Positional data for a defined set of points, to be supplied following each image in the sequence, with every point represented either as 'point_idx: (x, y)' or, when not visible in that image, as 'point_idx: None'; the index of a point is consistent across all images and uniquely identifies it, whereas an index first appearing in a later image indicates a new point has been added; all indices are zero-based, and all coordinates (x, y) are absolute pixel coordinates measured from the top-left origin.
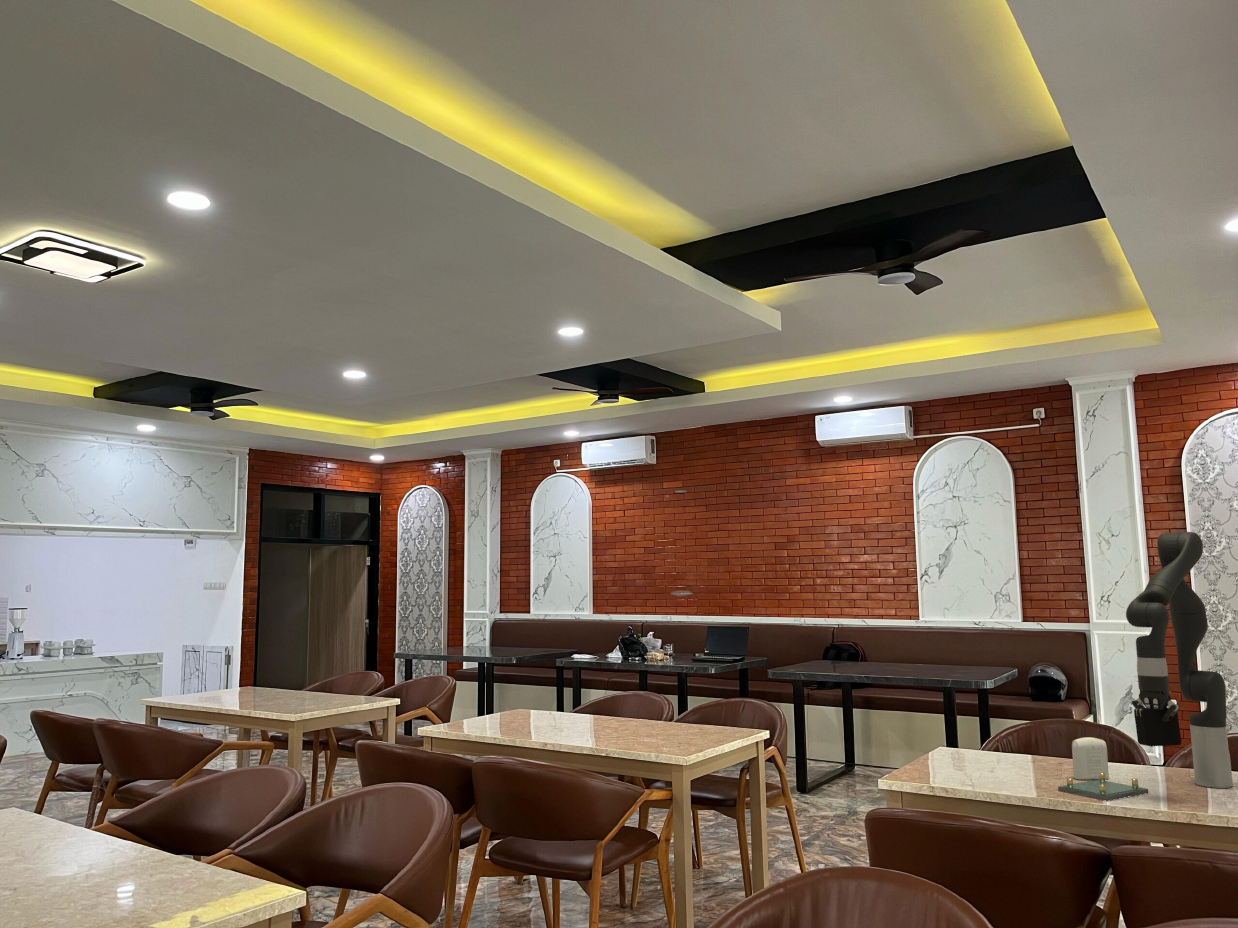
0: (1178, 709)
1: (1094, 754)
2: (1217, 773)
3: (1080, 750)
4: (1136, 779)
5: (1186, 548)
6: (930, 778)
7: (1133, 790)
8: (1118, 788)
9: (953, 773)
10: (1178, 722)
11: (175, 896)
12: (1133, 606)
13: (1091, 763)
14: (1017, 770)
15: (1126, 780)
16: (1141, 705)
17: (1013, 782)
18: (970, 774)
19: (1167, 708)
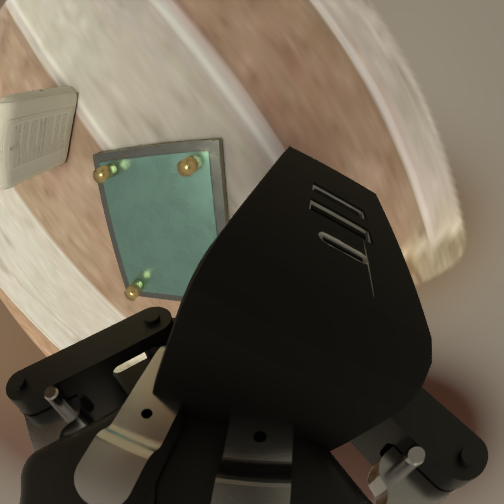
0: (464, 426)
1: (28, 139)
2: None
3: (17, 180)
4: (192, 169)
5: None
6: (48, 338)
7: (215, 196)
8: (187, 215)
9: (22, 295)
10: (400, 257)
11: None
12: None
13: (44, 144)
14: (3, 198)
15: (99, 58)
16: (93, 418)
17: (68, 287)
18: (25, 284)
19: (342, 442)
